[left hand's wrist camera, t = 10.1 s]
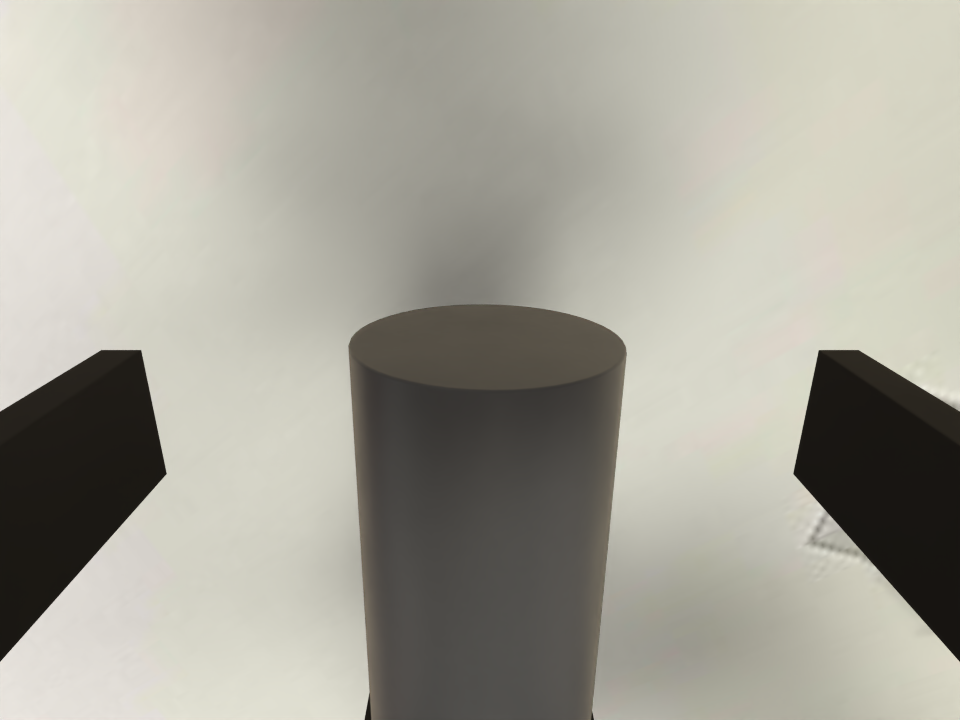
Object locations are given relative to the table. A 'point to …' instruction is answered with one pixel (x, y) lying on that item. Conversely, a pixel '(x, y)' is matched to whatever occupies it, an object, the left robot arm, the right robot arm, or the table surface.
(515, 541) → the rod
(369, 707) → the right robot arm
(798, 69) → the table surface
